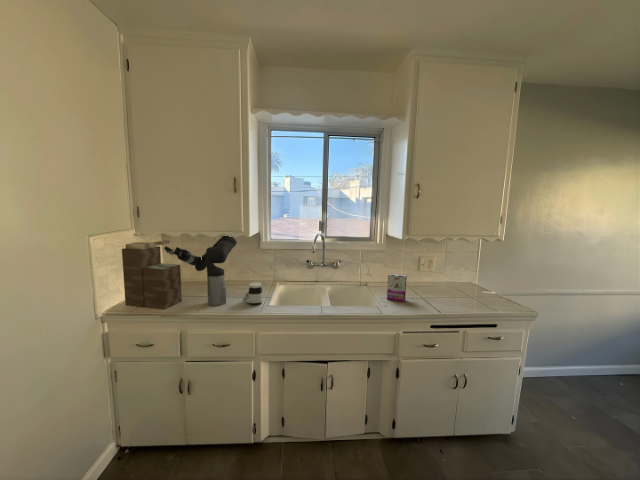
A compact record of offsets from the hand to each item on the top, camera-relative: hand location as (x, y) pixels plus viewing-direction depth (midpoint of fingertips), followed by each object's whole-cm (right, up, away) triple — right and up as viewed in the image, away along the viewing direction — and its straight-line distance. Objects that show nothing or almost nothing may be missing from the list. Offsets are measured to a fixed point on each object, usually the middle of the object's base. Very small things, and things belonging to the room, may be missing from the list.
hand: (170, 248), depth 171 cm
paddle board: (-3, +2, -15) cm, 15 cm away
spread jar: (+56, -32, -13) cm, 66 cm away
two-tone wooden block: (+1, -31, -19) cm, 36 cm away
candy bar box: (+145, -33, -1) cm, 149 cm away
